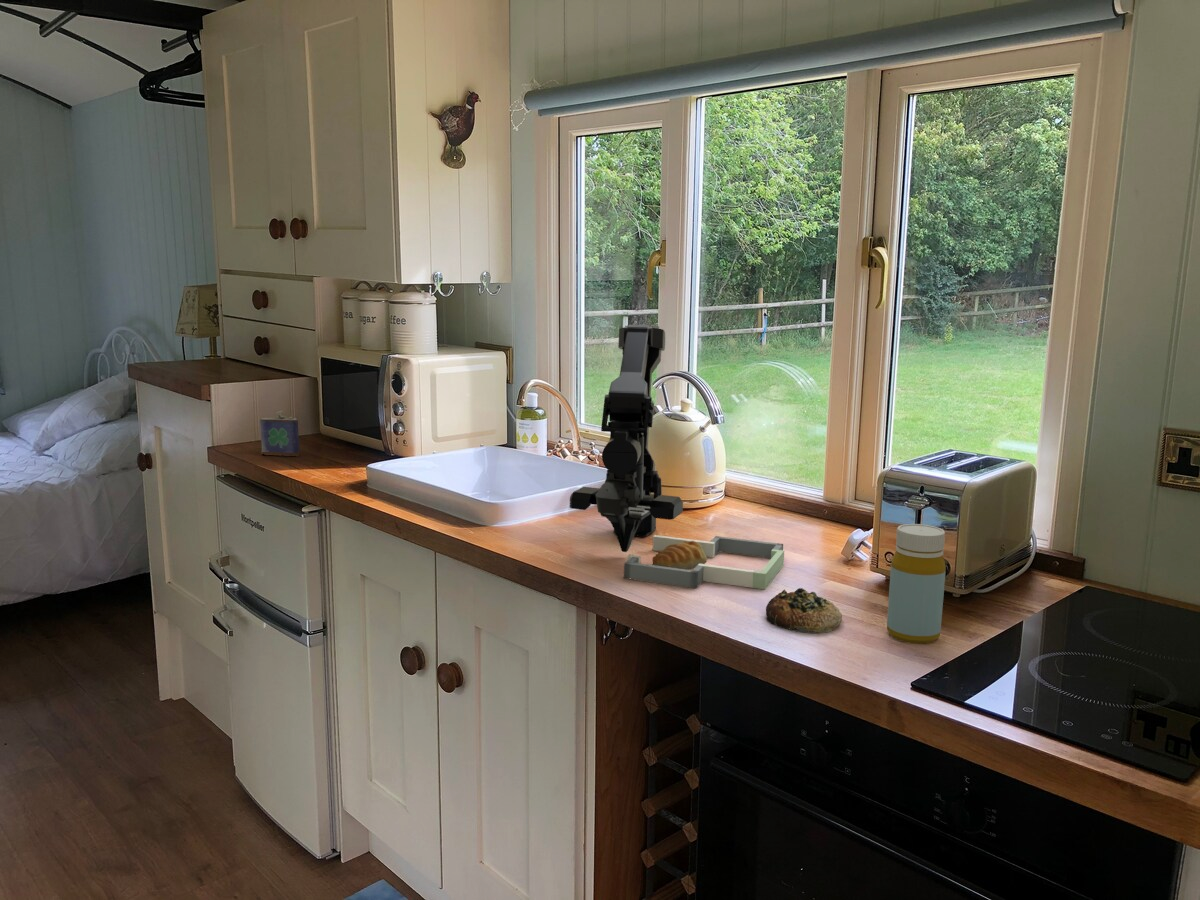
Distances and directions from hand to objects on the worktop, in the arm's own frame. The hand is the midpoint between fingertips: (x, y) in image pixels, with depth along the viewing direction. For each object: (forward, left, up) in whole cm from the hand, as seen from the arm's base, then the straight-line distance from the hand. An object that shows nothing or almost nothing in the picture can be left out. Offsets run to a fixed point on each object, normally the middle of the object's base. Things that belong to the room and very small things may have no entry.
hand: (624, 551), depth 170 cm
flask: (-112, +47, -1) cm, 121 cm away
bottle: (+49, -18, -1) cm, 52 cm away
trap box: (+14, 0, -1) cm, 14 cm away
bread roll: (+34, -18, -2) cm, 39 cm away
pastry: (+10, 0, -2) cm, 10 cm away
